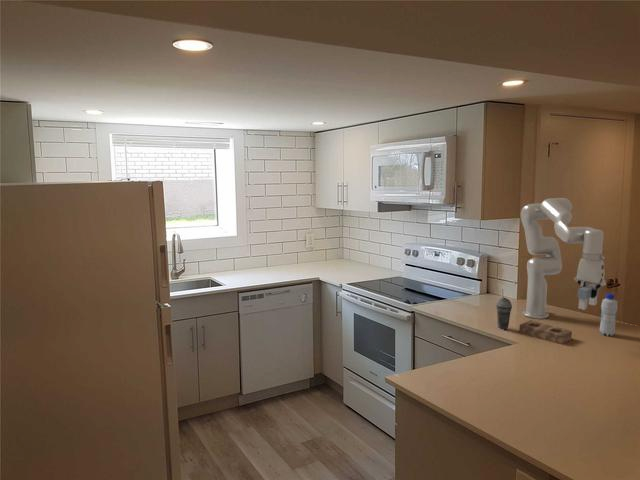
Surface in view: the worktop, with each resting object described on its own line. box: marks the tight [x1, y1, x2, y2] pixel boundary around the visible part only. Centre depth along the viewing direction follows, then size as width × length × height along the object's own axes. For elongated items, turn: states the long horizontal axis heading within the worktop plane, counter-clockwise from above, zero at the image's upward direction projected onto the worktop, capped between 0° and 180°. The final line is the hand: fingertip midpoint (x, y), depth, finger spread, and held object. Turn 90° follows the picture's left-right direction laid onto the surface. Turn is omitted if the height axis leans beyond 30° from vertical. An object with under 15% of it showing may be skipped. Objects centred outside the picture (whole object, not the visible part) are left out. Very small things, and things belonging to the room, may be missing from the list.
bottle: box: [599, 293, 618, 337], centre depth 224 cm, size 7×7×20 cm
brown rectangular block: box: [518, 320, 573, 345], centre depth 224 cm, size 20×10×4 cm, turn 38°
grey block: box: [576, 283, 601, 311], centre depth 215 cm, size 14×4×9 cm, turn 127°
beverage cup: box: [495, 288, 513, 330], centre depth 233 cm, size 7×7×20 cm
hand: (588, 296), depth 215 cm, fingers closed on grey block, 3 cm apart
